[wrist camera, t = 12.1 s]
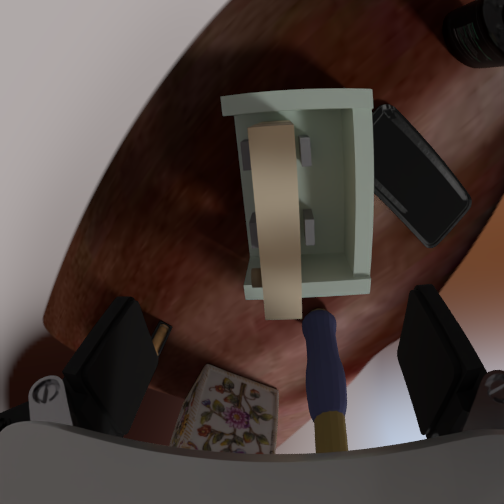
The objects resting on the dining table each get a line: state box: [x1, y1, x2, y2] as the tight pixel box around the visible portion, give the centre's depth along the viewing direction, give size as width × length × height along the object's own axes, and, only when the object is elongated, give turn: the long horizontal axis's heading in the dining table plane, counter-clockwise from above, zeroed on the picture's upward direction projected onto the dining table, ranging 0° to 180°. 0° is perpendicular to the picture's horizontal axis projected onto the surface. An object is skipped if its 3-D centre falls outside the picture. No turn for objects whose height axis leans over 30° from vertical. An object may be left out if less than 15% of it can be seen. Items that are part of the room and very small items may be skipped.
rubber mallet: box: [302, 309, 348, 453], centre depth 23 cm, size 12×8×30 cm, turn 141°
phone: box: [372, 105, 472, 248], centre depth 28 cm, size 8×1×15 cm
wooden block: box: [247, 120, 302, 320], centre depth 23 cm, size 12×3×12 cm, turn 5°
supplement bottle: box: [442, 0, 504, 68], centre depth 15 cm, size 7×7×12 cm
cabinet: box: [221, 88, 374, 300], centre depth 27 cm, size 17×11×7 cm, turn 6°
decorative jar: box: [169, 364, 279, 454], centre depth 36 cm, size 12×12×18 cm
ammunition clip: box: [151, 321, 172, 357], centre depth 36 cm, size 11×2×12 cm, turn 152°
